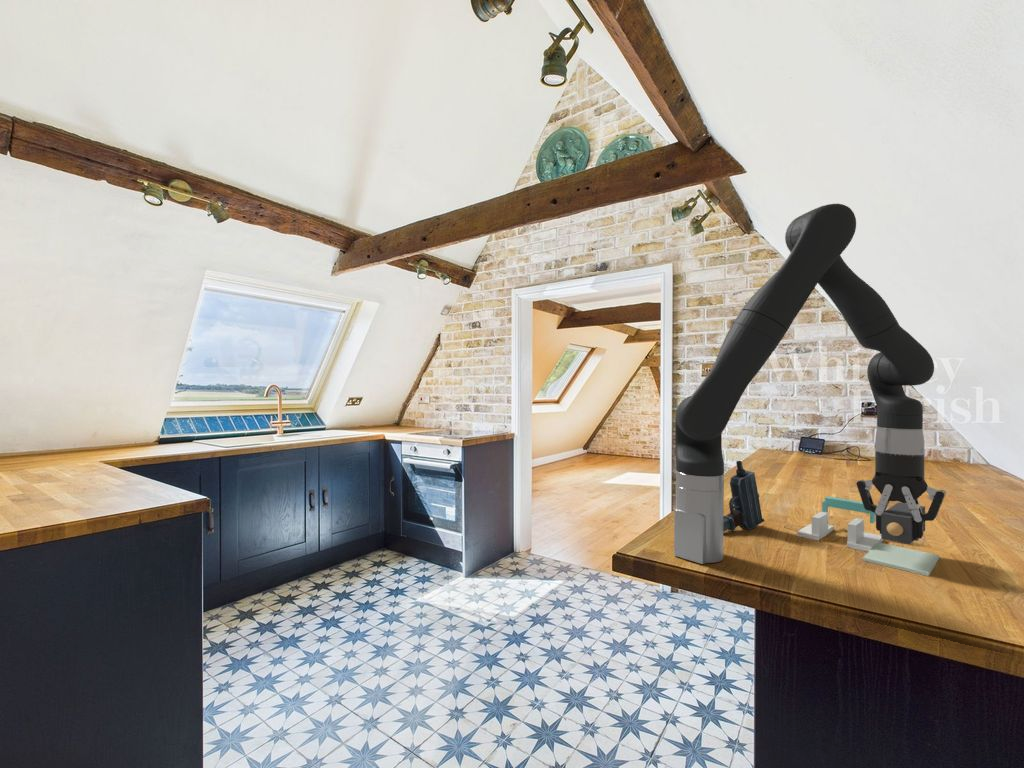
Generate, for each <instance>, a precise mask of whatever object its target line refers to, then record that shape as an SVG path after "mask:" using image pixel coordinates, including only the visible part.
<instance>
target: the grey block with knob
mask: <svg viewBox="0 0 1024 768" xmlns="http://www.w3.org/2000/svg"><path fill="white" fill-rule="evenodd" d="M920 508H921V510H922V513H926V506H924V505H920ZM913 521H914V518H913V516H912V513H911V511H910V509H909V507H908V504H906V503H902V502H899V501H897V502H896V503H895V504H893V505H892V506H890V507H889V508H886V511H884V512H883V513H881V534H880V535H881V539H884V540H886V541H891V542H895V543H896V542H897V543H900V544H906V545H911V544H913V542H916V541H915V540H913V539H912V522H913ZM925 531H926V521H924V529H923V533H924V532H925Z"/></svg>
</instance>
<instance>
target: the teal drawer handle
mask: <svg viewBox="0 0 1024 768" xmlns="http://www.w3.org/2000/svg"><path fill="white" fill-rule="evenodd" d="M821 504H822V505H821V507H822V508H821V512H827V513H828V514H829V508H836V509H841V510H846V511H852V512H857V513H865V514H869V523H870V524H874V523H876V515H875V513H874V512H872V511H868V510H866V509H865V508H864V505H863V502H862V501H859V500H854V499H853V500H852V499H846V498H840V497H834V496H829V495H828V496H826V497H824V500H823V501H822V503H821Z"/></svg>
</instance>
